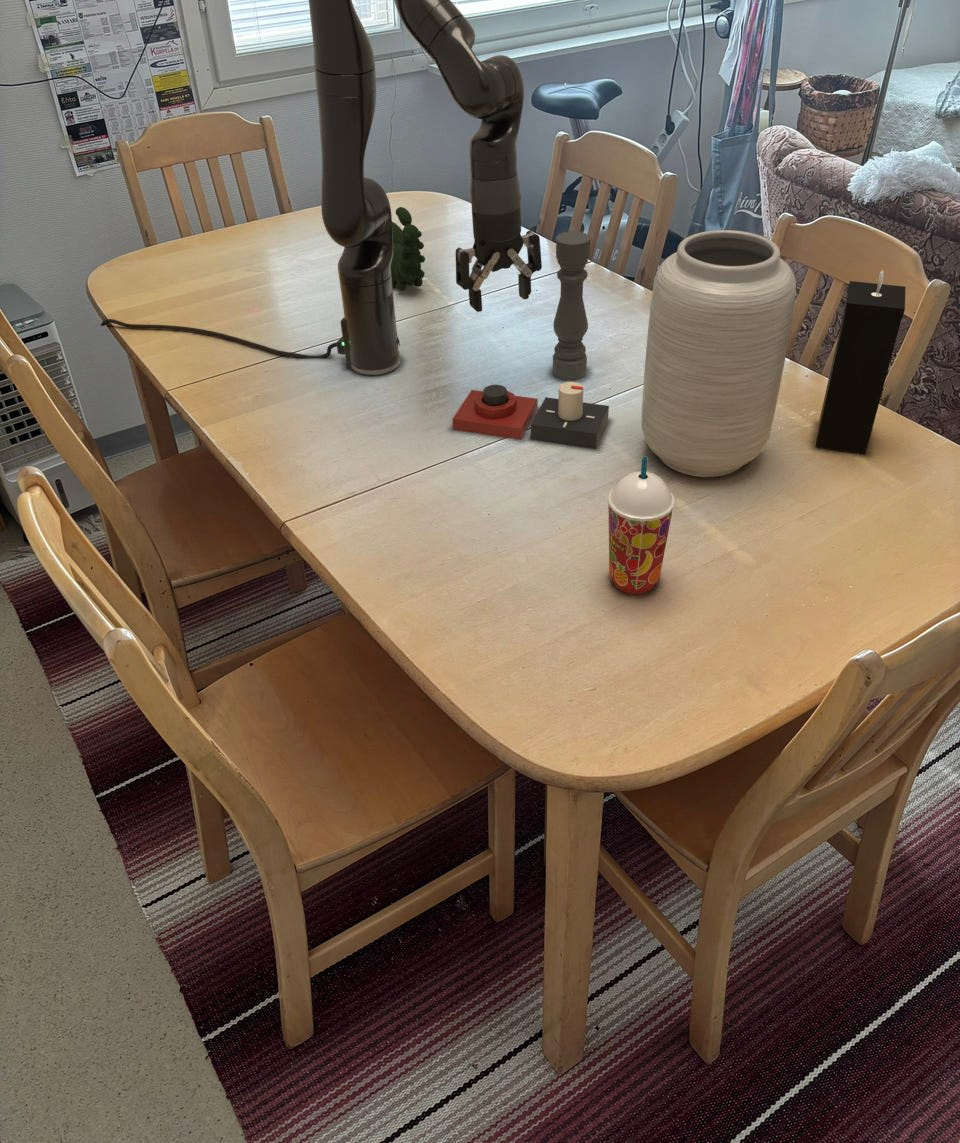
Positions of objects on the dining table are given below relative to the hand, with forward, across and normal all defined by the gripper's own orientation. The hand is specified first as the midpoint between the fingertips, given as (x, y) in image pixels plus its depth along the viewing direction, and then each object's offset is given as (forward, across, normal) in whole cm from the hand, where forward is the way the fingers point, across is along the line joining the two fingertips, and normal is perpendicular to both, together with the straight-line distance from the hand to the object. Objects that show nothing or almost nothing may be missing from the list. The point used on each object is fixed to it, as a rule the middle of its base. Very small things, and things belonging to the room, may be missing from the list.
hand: (500, 303), depth 158 cm
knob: (+15, -5, +14) cm, 21 cm away
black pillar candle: (+20, -42, +38) cm, 60 cm away
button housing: (+18, +4, +5) cm, 19 cm away
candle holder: (+18, -15, -3) cm, 24 cm away
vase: (+19, -20, +30) cm, 41 cm away
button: (+14, +4, +5) cm, 16 cm away
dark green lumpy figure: (+17, -3, -58) cm, 60 cm away
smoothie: (+19, +7, +52) cm, 56 cm away
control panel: (+18, -5, +14) cm, 24 cm away
